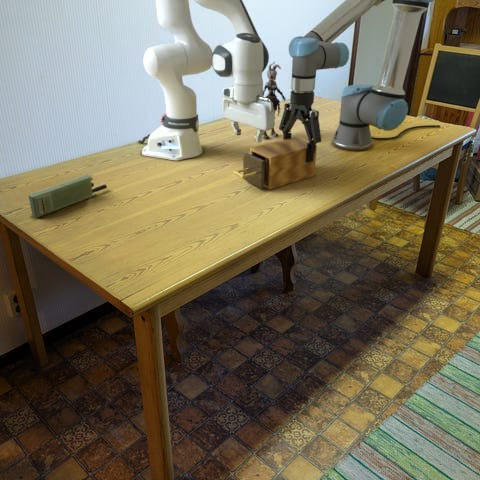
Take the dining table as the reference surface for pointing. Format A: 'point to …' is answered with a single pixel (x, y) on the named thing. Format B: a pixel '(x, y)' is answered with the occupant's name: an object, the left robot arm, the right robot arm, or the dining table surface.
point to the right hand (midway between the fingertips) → (297, 156)
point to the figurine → (273, 93)
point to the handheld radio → (62, 195)
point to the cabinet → (286, 161)
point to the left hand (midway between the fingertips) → (247, 138)
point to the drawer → (254, 169)
